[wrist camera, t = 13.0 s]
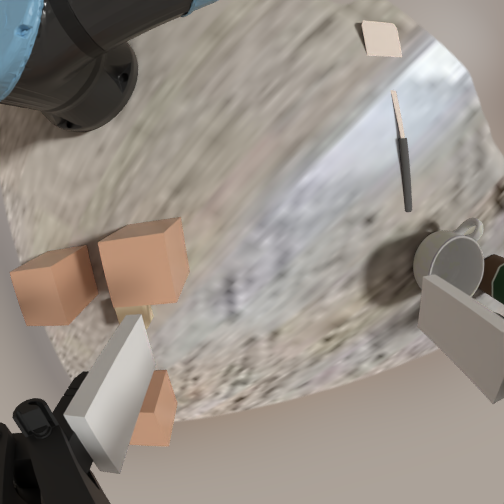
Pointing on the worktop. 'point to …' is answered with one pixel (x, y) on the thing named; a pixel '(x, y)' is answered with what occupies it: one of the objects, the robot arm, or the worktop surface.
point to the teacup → (452, 257)
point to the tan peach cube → (156, 413)
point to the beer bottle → (493, 277)
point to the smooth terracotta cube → (145, 263)
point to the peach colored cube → (55, 286)
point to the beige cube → (133, 310)
